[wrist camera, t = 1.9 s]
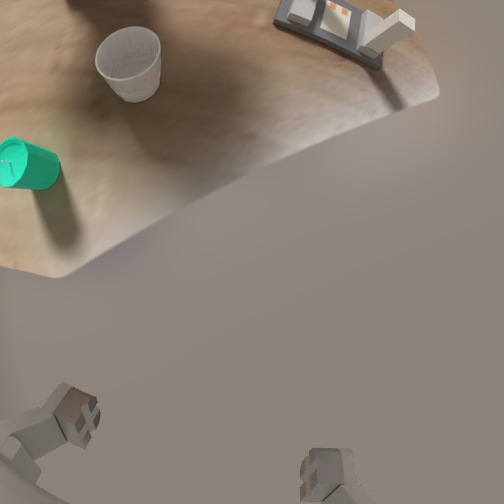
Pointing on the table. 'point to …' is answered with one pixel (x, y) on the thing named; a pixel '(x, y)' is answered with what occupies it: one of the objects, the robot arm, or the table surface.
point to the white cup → (131, 63)
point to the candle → (27, 165)
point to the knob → (390, 31)
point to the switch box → (332, 26)
